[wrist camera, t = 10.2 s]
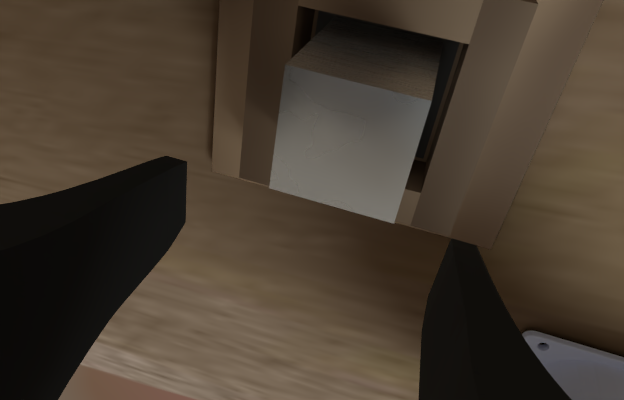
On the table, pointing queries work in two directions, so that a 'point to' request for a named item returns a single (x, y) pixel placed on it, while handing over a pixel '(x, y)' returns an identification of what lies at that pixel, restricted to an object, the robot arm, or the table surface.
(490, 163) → the socket block
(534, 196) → the table surface
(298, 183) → the block
